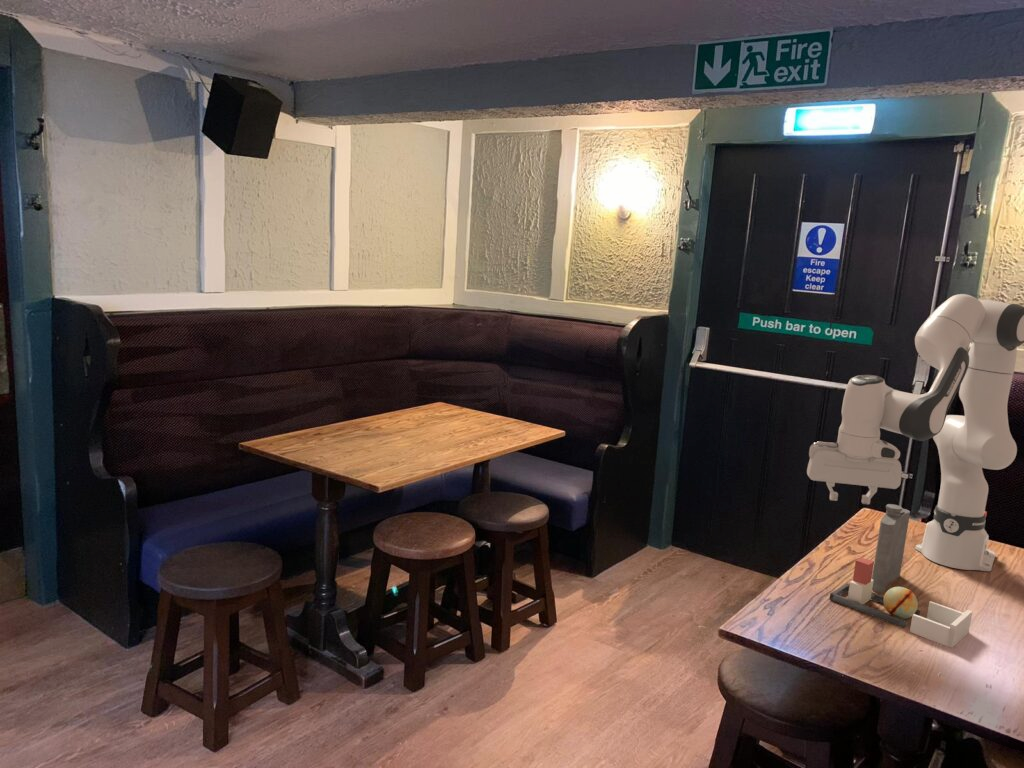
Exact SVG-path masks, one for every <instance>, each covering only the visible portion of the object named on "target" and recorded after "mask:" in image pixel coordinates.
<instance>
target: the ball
mask: <svg viewBox="0 0 1024 768" xmlns="http://www.w3.org/2000/svg"><path fill="white" fill-rule="evenodd" d="M883 596H884V599H883V603H884V604H883V607H884V609H885V610H886V612H887V614H890V615H893V616H895V617H898V618H901V619H903V620H906V619H908V618H912V615H913V614H915V612H916V611H917V609H919V608H918V607H919V602H918V599H917V597H916V595H915V593H913V591H912V590H910V589H908V588H906V587H904V586H894V587H891V588H889V589H888V590H887V591H886V592H884V595H883Z"/></svg>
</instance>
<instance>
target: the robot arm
mask: <svg viewBox="0 0 1024 768" xmlns="http://www.w3.org/2000/svg"><path fill="white" fill-rule="evenodd" d="M970 344H971V345H970ZM1023 344H1024V306H1023V305H1020V304H1016V303H1008V302H1004V301H998V300H993V299H978V298H976V297H975V296H972V295H970V294H967V293H960V294H959V293H958V294H954V295H951V296H950V297H949V298H948V299H946V300H945V301H943V302H942V303H941V304H940V305H939V306H938V307H936V308H935V309H934V311H933V312H932V313H931V314H930V315H929V316H928V317H927V319H926V320H925V321H924V322H923V323H922V324H921V326H920V327H919V329H918V331H917V332H916V334H915V336H914V345H915V349H916V352H917V354H918V355H919V357H920V358H921V359H922V360H923V361H924V362H925V363H926V364H928V365H929V366H930V367H933V368H935V369H936V370H937V371H938V373H937V374H936V377H935V378H934V381H933V383H932V384H931V386H930V389H929V391H928V392H925V393H923V394H914V393H910V392H907V391H906V392H905V391H901V390H898V389H894V388H893V387H891V386H889V385H887V384H886V381H885V379H884V378H883V377H881V376H878V375H874V374H873V375H872V374H861V375H860V374H859V375H855V376H854V377H851V378H850V379H849V381H848V383H847V385H846V388H845V390H844V391H845V392H844V395H843V400H842V406H841V424H840V426H839V427H838V433H837V434H838V435H837V439H836V442H830V441H829V442H828V441H826V442H825V441H823V440H822V441H821V440H820V441H817V442H813V443H812V444H811V445H810V446H809V450H808V456H809V461H808V463H807V468H806V474H807V476H808V478H809V479H810V480H812V481H814V482H815V481H816V482H825V483H826V484H825V485H826V486H827V489H828V490H829V501H834V502H835V501H836V502H837V501H838V498H839V493H838V492H837V491H834V489H833V488H834V487H835V485H836V484H844V485H845V484H846V485H854V486H855V485H856V486H863V487H868V491H867V493H866V494H862V495H861V503H862V505H870V504H871V499H872V498H873V497H874V495H875V494H876V493H877V492H878V488H882V489H883V488H884V489H892V490H896V489H897V488H899V487H900V486H901V482H902V471H903V470H902V464H901V462H900V460H899V458H900V457H901V451H900V450H899V449H898V448H897V446H895V445H893V444H892V443H889V442H887V441H885V440H882V439H880V438H881V429H883V430H885V431H889V432H892V433H896V434H900V435H903V436H905V437H907V438H909V439H913V440H916V441H919V442H925V441H928V440H930V439H933V441H934V443H935V445H936V447H937V450H938V451H937V452H938V456H939V464H940V473H941V474H940V489H939V493H938V499H937V500H938V501H937V504H936V505H935V508H934V510H933V513H934V514H933V519H932V520H931V521H928V522H927V523H926V525H925V530H924V533H923V538H922V542H921V543H918V544H916V545H915V547H914V548H915V550H916V551H918V552H920V553H921V554H922V555H923V556H924V558H926V559H927V560H930V561H931V562H933V563H935V564H939V565H941V566H944V567H947V568H948V567H949V568H952V569H953V568H954V569H958V570H966V571H982V572H991V571H992V568H993V564H994V561H995V557H996V552H995V551H993V550H991V549H989V548H988V543H989V537H990V536H989V534H988V533H987V530H986V529H985V528H986V518H987V513H988V511H986V506H987V501H988V497H989V496H988V495H989V484H988V482H987V480H986V478H985V475H984V471H983V469H987V470H994V471H995V470H996V471H998V470H1003V469H1006V468H1007V467H1009V466H1010V465H1011V464H1012V463H1013V462H1014V461H1015V459H1016V456H1017V452H1018V446H1017V443H1016V441H1015V439H1014V438H1013V435H1012V434H1011V431H1010V425H1009V416H1008V401H1009V396H1010V391H1011V387H1012V382H1013V376H1014V373H1015V368H1016V363H1017V362H1016V361H1017V353H1018V351H1017V348H1018V347H1020V346H1021V345H1023ZM969 345H970V348H969V351H967V348H968V347H969ZM957 393H958V397H959V400H960V401H961V403H962V406H963V411H964V415H959V414H948V412H949V409H950V407H951V404H952V403H953V401H954V399H955V396H956V395H957Z"/></svg>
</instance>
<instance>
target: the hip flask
mask: <svg viewBox="0 0 1024 768" xmlns="http://www.w3.org/2000/svg"><path fill="white" fill-rule="evenodd" d="M885 509H886V512H885V514H884V515H883V516H882V517H881V519H880V523H879V530H878V535H877V537H878V538H877V543H876V551H875V556H874V565H873V572H872V578H871V579H873V580H874V581H873V587H872V590H873V591H872V592H874V593H875V592H876V593H878V592H880V593H879V594H881V593H883V594H884V593H886V592H885V591H886V589H887V587H888V586H889V584H890V583H891V582H893V581H895V580H897V579H899V578H900V577H901V571H902V566H903V558H904V553H905V552H904V551H905V547H906V541H907V534H908V529H909V528H908V527H909V522H910V517H911V516H910V515H911V511H910V510H908V509H907V508H903V507H902V506H901V505H898V504H892V503H888V504H886V505H885Z"/></svg>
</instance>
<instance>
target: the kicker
mask: <svg viewBox="0 0 1024 768" xmlns="http://www.w3.org/2000/svg"><path fill="white" fill-rule="evenodd" d="M874 562H875V560H874V561H873V560H871V559H868V558H864V557H862V556H860V557H859V558H858V559H856V560H855V562H854V563H855V564H854V570H853V576H852V577H853V578H852V580H850V582H849V584H850V586H849V591H847V593H848V594H847V598H848V599H850V600H853V601H856V602H858V603H861V604H863V605H866V603H868V602H869V601H870V600H871V594H872V592H873V591H872V587H873V581H874V580H873V579H872V575H873V568H874Z"/></svg>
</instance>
